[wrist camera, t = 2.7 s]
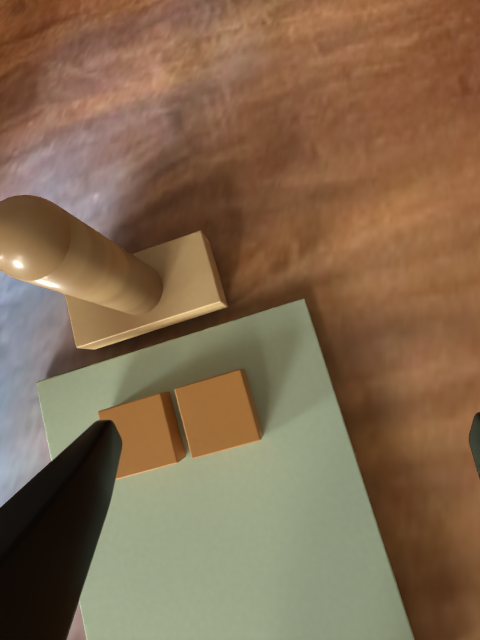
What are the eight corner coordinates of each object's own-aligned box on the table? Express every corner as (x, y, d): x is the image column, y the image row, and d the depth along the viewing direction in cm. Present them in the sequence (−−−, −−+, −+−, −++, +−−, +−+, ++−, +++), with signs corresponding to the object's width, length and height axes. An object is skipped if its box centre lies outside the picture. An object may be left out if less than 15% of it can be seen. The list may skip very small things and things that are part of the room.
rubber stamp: (212, 245, 26) (113, 113, 12) (231, 309, 25) (147, 242, 12) (87, 288, 27) (-128, 208, 13) (101, 350, 26) (-111, 332, 13)
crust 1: (186, 456, 23) (178, 463, 22) (124, 473, 24) (112, 481, 22) (169, 390, 24) (160, 392, 22) (110, 408, 24) (96, 411, 23)
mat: (418, 654, 21) (423, 666, 20) (110, 714, 23) (103, 726, 22) (304, 299, 24) (304, 297, 23) (43, 381, 26) (35, 382, 26)
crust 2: (264, 435, 23) (261, 440, 21) (199, 453, 23) (191, 459, 22) (244, 368, 23) (240, 368, 22) (182, 387, 24) (173, 388, 22)
